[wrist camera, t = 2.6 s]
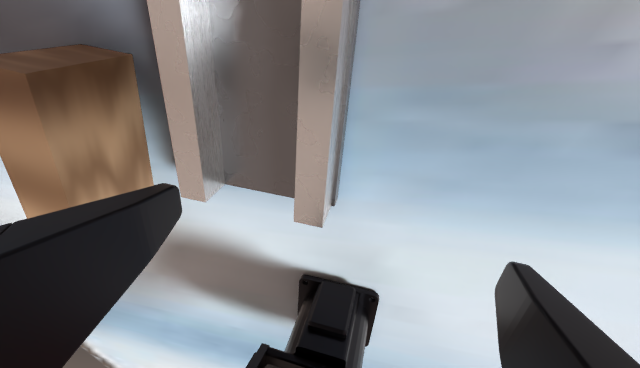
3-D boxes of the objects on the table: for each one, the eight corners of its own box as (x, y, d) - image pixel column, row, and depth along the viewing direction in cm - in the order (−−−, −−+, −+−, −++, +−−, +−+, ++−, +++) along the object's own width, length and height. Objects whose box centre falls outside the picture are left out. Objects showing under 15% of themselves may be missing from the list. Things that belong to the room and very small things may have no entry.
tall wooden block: (160, 221, 28) (93, 278, 23) (121, 210, 29) (46, 263, 23) (133, 54, 21) (24, 73, 15) (82, 44, 22) (-42, 58, 16)
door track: (337, 198, 22) (325, 228, 19) (207, 172, 24) (178, 196, 21) (398, -329, 11) (391, -447, 8) (149, -303, 13) (72, -391, 10)
